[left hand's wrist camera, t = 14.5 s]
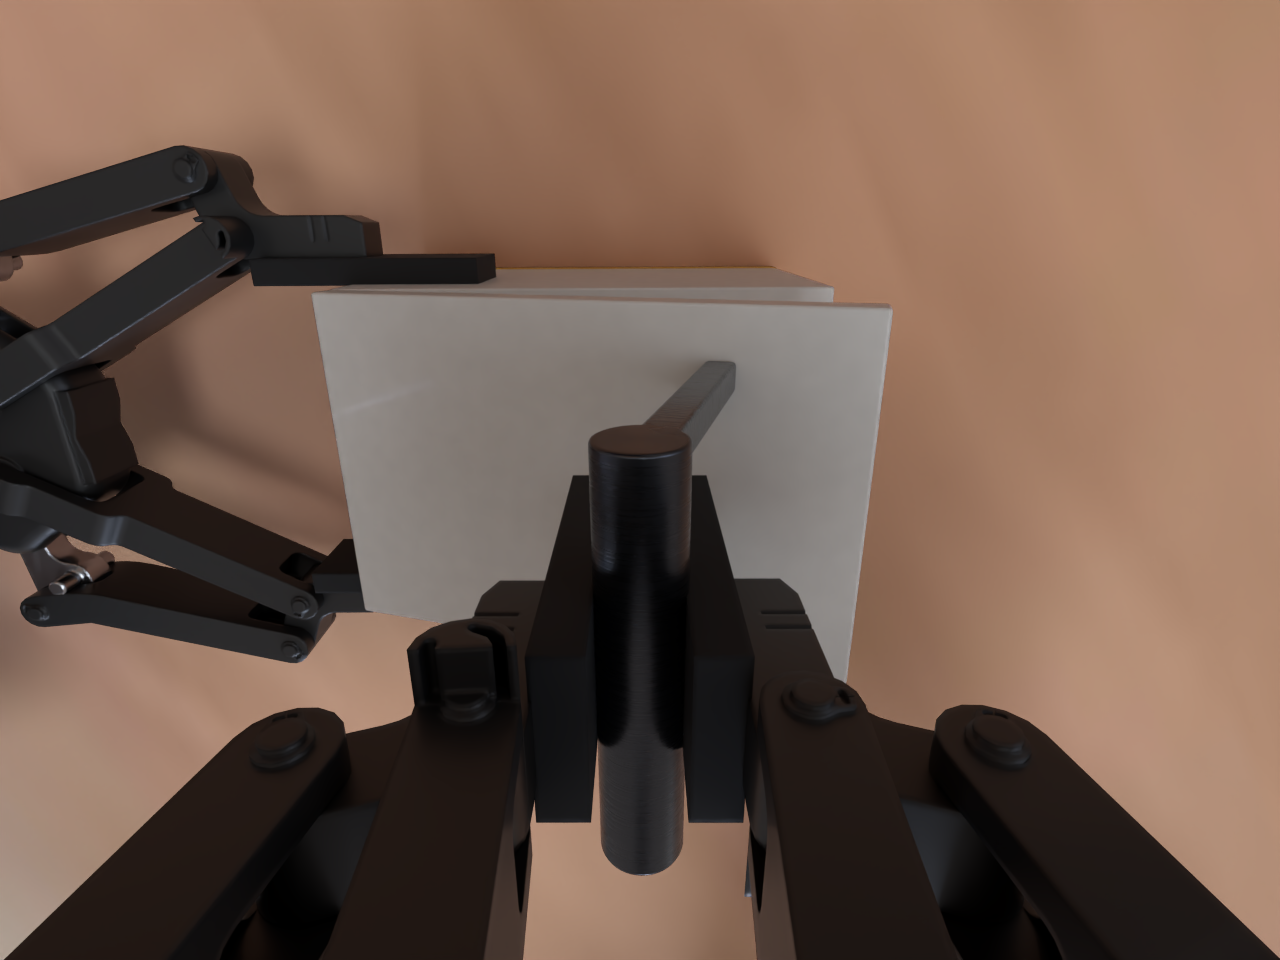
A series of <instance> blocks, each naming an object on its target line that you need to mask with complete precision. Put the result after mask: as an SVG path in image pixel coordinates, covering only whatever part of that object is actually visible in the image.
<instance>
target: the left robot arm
mask: <svg viewBox="0 0 1280 960" xmlns="http://www.w3.org/2000/svg"><path fill="white" fill-rule="evenodd" d="M407 655H408V662H409V669H410V676H411V683H412V690H413V697H414V704H415V706H414V709H413V712H412V715H410V716H408V717H406V718H404V719H402V720H399V721H396V722H393V723H389V724H386V725H383V726H378V727H374V728H369V729H365V730H360V731H356V732H352V733H347V734H346V733H345V727H344V722H343V721H342V720H341V719H340V718H339V717H338V716H337V715H336V714H335V713H334V712H331V711H327V710H324V709H321V708H296V709H292V710H288V711H283V712H279V713H275V714H273V715H271V716H269V717H266V718H264V719H262V720H260V721H258V722H256V723H253V724H252V725H250V726H249V727H248V728H246V729H245V730H244V731H242V732H241V733H240V734H238V735H237V736H236V737H234V738H233V739H232V740H231V741H230V742H229V743H228V744H227V745H226V746H225V747H224V748H223V749H222V750H221V751H220V752H219V753H218V754H216V755H215V756H214V757H213V758H212V759H211V760H210V761H209V762H208V763H207V764H206V765H205V766H204V767H203V768H202V769H201V770H200V771H199V772H198V773H197V774H196V775H195V776H194V777H193V778H192V779H191V780H190V781H189V782H188V783H186V784H185V785H184V786H183V787H182V788H181V789H180V790H179V791H178V792H177V793H176V794H175V795H174V796H173V797H172V798H171V799H170V800H169V801H168V802H167V803H166V804H165V805H164V806H163V807H162V808H161V809H160V810H159V811H157V812H156V813H155V814H154V815H153V816H152V817H151V818H150V819H149V820H148V821H147V822H146V823H145V824H144V825H143V826H142V827H141V828H140V829H139V830H138V831H137V832H136V833H135V834H134V835H133V836H132V837H131V838H130V839H129V840H127V841H126V842H125V843H124V844H123V845H122V846H121V847H120V848H119V849H118V850H117V851H116V852H115V853H114V854H113V855H112V856H111V857H110V858H109V859H108V860H107V861H106V862H105V863H104V864H103V865H102V866H101V867H100V868H98V869H97V870H96V871H95V872H94V873H93V874H92V875H91V876H90V877H89V878H88V879H87V880H86V881H85V882H84V883H83V884H82V885H81V886H80V887H79V888H78V889H77V890H76V891H75V892H74V893H73V894H72V895H71V896H70V897H68V898H67V899H66V900H65V901H64V902H63V903H62V904H61V905H60V906H59V907H58V908H57V909H56V910H55V911H54V912H53V913H52V914H51V915H50V916H49V917H48V918H47V919H46V920H45V921H44V922H43V923H42V924H41V925H39V926H38V927H37V928H36V929H35V930H34V931H33V932H32V933H31V934H30V935H29V936H28V937H27V938H26V939H25V940H24V941H23V942H22V943H21V944H20V945H19V946H18V947H17V948H16V949H15V950H14V951H13V952H12V953H11V954H9V955H8V956H7V957H6V958H5V959H4V960H523V953H524V942H525V931H526V920H527V909H528V898H529V887H530V875H531V864H532V843H531V830H530V822H531V817H532V811H533V806H534V800H535V811H536V823H573V822H591V815H592V802H593V790H594V778H595V765H596V753H597V741H598V730H597V697H596V664H595V631H594V598H593V583H592V553H591V523H590V493H589V475H573V477H572V481H571V484H570V488H569V492H568V496H567V499H566V503H565V507H564V511H563V514H562V518H561V522H560V526H559V529H558V533H557V537H556V541H555V544H554V548H553V552H552V555H551V559H550V563H549V567H548V570H547V574H546V578H545V580H500V581H499V582H497V583H496V584H495V585H494V586H493V587H491V588H490V589H489V590H488V591H487V592H485V593H484V594H483V595H482V596H481V598H480V601H479V603H478V605H477V608H476V610H475V612H474V616H473V617H472V618H470V619H463V620H456V621H450V622H447V623H444V624H441V625H438V626H435V627H433V628H431V629H429V630H427V631H426V632H424V633H423V634H421V635H420V636H418V637H417V638H416V639H415V640H414V641H413V642H412V644H411V645H410V646H409V648H408V649H407ZM683 759H684V772H685V784H686V796H687V809H688V821H689V823H743V819H744V805H745V800H746V805H747V811H748V816H749V822H750V830H749V843H748V857H747V870H746V883H745V897H752V908H753V919H754V930H755V941H756V952H757V960H1280V958H1279V957H1278V956H1277V955H1276V954H1274V953H1273V952H1272V951H1271V950H1270V949H1269V948H1268V947H1267V946H1266V945H1265V944H1264V943H1263V942H1262V941H1261V940H1260V939H1259V938H1258V937H1257V936H1256V935H1255V934H1254V933H1253V932H1252V931H1250V930H1249V929H1248V928H1247V927H1246V926H1245V925H1244V924H1243V923H1242V922H1241V921H1240V920H1239V919H1238V918H1237V917H1236V916H1235V915H1234V914H1233V913H1232V912H1231V911H1230V910H1229V909H1228V908H1227V907H1225V906H1224V905H1223V904H1222V903H1221V902H1220V901H1219V900H1218V899H1217V898H1216V897H1215V896H1214V895H1213V894H1212V893H1211V892H1210V891H1209V890H1208V889H1207V888H1206V887H1205V886H1204V885H1203V884H1201V883H1200V882H1199V881H1198V880H1197V879H1196V878H1195V877H1194V876H1193V875H1192V874H1191V873H1190V872H1189V871H1188V870H1187V869H1186V868H1185V867H1184V866H1183V865H1182V864H1181V863H1180V862H1179V861H1178V860H1176V859H1175V858H1174V857H1173V856H1172V855H1171V854H1170V853H1169V852H1168V851H1167V850H1166V849H1165V848H1164V847H1163V846H1162V845H1161V844H1160V843H1159V842H1158V841H1157V840H1156V839H1155V838H1154V837H1152V836H1151V835H1150V834H1149V833H1148V832H1147V831H1146V830H1145V829H1144V828H1143V827H1142V826H1141V825H1140V824H1139V823H1138V822H1137V821H1136V820H1135V819H1134V818H1133V817H1132V816H1131V815H1130V814H1129V813H1127V812H1126V811H1125V810H1124V809H1123V808H1122V807H1121V806H1120V805H1119V804H1118V803H1117V802H1116V801H1115V800H1114V799H1113V798H1112V797H1111V796H1110V795H1109V794H1108V793H1107V792H1106V791H1105V790H1103V789H1102V788H1101V787H1100V786H1099V785H1098V784H1097V783H1096V782H1095V781H1094V780H1093V779H1092V778H1091V777H1090V776H1089V775H1088V774H1087V773H1086V772H1085V771H1084V770H1083V769H1082V768H1081V767H1080V766H1078V765H1077V764H1076V763H1075V762H1074V761H1073V760H1072V759H1071V758H1070V757H1069V756H1068V755H1067V754H1066V753H1065V752H1064V751H1063V750H1062V749H1061V748H1060V747H1059V746H1058V745H1057V744H1056V743H1054V742H1053V741H1052V740H1051V739H1050V738H1049V737H1048V736H1047V735H1046V734H1045V733H1043V732H1042V731H1041V730H1039V729H1038V728H1037V727H1035V726H1034V725H1033V724H1031V723H1030V722H1028V721H1027V720H1024V719H1022V718H1020V717H1018V716H1016V715H1014V714H1011V713H1009V712H1007V711H1004V710H1000V709H996V708H992V707H988V706H984V705H959V706H956V707H953V708H950V709H946V710H945V711H944V712H943V713H942V714H941V715H940V716H939V717H938V718H937V719H936V724H935V730H934V731H932V730H927V729H923V728H918V727H914V726H909V725H905V724H900V723H896V722H893V721H889V720H886V719H883V718H880V717H877V716H875V715H873V714H871V713H869V712H868V711H867V708H866V705H865V704H864V702H863V701H862V699H861V698H860V696H859V694H858V693H857V692H856V691H855V690H854V689H852V688H851V687H850V686H848V685H847V684H846V683H844V682H843V681H841V680H839V679H836V678H834V676H833V674H832V671H831V669H830V667H829V664H828V662H827V660H826V657H825V655H824V653H823V650H822V648H821V646H820V643H819V641H818V639H817V636H816V634H815V632H814V629H812V625H811V622H810V620H809V618H808V615H807V614H806V613H805V609H804V606H803V604H802V602H801V599H800V597H799V595H798V593H797V592H796V591H794V590H793V589H792V588H791V587H790V586H788V585H787V584H786V583H785V582H784V581H782V580H781V579H780V578H734V576H733V573H732V569H731V565H730V561H729V558H728V554H727V550H726V546H725V543H724V539H723V535H722V531H721V528H720V524H719V520H718V516H717V513H716V509H715V505H714V501H713V498H712V494H711V490H710V486H709V483H708V479H707V475H692V495H691V535H690V576H689V593H688V595H687V600H686V637H685V674H684V711H683Z"/></svg>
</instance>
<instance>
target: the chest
mask: <svg viewBox="0 0 1280 960" xmlns="http://www.w3.org/2000/svg"><path fill="white" fill-rule="evenodd" d="M331 290H363V291H402V292H442V293H482V294H522V295H561V296H601V297H641V298H681V299H721V300H760V301H800V302H833V297H834V287H832V286H829V285H826V284H823V283H820V282H817V281H813V280H810V279H807V278H804V277H801V276H798V275H795V274H792V273H788V272H785V271H782V270H779V269H776V268H775V267H772V266H760V267H556V268H496V277H495V278H493V279H490V280H487V281H485V282H482V283H480V284H377V285H348V286H344V287H339V288H334V289H331Z"/></svg>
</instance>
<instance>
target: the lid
mask: <svg viewBox="0 0 1280 960" xmlns="http://www.w3.org/2000/svg"><path fill="white" fill-rule="evenodd" d="M311 296H312V302H313V308H314V314H315V319H316V325H317V331H318V337H319V343H320V349H321V354H322V360H323V366H324V372H325V378H326V384H327V389H328V395H329V401H330V407H331V413H332V418H333V424H334V430H335V436H336V442H337V448H338V453H339V459H340V465H341V471H342V477H343V483H344V488H345V494H346V500H347V506H348V512H349V518H350V523H351V529H352V535H353V541H354V547H355V553H356V558H357V564H358V570H359V576H360V582H361V588H362V593H363V599H364V605H365V609H366V610H367V611H373V612H379V613H385V614H391V615H397V616H402V617H408V618H414V619H420V620H426V621H432V622H438V623H447V622H450V621H456V620H463V619H470V618H472V617H473V616H474V612H475V610H476V608H477V605H478V603H479V601H480V598H481V596H482V595H483V594H484V593H485V592H487V591H488V590H489V589H490V588H491V587H493V586H494V585H495V584H496V583H497V582H499V581H500V580H545V578H546V574H547V570H548V567H549V563H550V559H551V555H552V552H553V548H554V544H555V541H556V537H557V533H558V529H559V526H560V522H561V518H562V514H563V511H564V507H565V503H566V499H567V496H568V492H569V488H570V484H571V481H572V477H573V475H589V493H590V523H591V553H592V583H593V598H594V631H595V664H596V697H597V730H598V764H599V794H600V824H601V845H602V849H603V851H604V854H605V855H606V857H607V858H608V860H609V861H610V862H611V863H612V864H613V865H614V866H615V867H616V868H618V869H619V870H621V871H623V872H626V873H629V874H633V875H641V876H642V875H652V874H655V873H658V872H661V871H663V870H665V869H666V868H668V867H669V866H670V865H671V864H672V863H673V862H674V861H675V860H676V859H677V857H678V856H679V854H680V852H681V849H682V845H683V820H684V779H685V772H684V759H683V711H684V674H685V637H686V600H687V595H688V593H689V576H690V535H691V495H692V475H707V479H708V483H709V486H710V490H711V494H712V498H713V501H714V505H715V509H716V513H717V516H718V520H719V524H720V528H721V531H722V535H723V539H724V543H725V546H726V550H727V554H728V558H729V561H730V565H731V569H732V573H733V576H734V578H780V579H781V580H782V581H784V582H785V583H786V584H787V585H788V586H790V587H791V588H792V589H793V590H794V591H796V592H797V593H798V595H799V597H800V599H801V602H802V604H803V606H804V609H805V613H806V614H807V615H808V618H809V620H810V622H811V625H812V629H814V632H815V634H816V636H817V639H818V641H819V643H820V646H821V648H822V650H823V653H824V655H825V657H826V660H827V662H828V664H829V667H830V669H831V671H832V674H833V676H834V678H836V679H839V680H841V681H843V682H844V683H846V681H847V673H848V665H849V657H850V649H851V642H852V634H853V626H854V618H855V610H856V602H857V594H858V586H859V578H860V570H861V562H862V554H863V546H864V538H865V530H866V522H867V514H868V506H869V498H870V491H871V483H872V475H873V467H874V459H875V451H876V443H877V435H878V427H879V419H880V411H881V403H882V395H883V387H884V379H885V371H886V363H887V355H888V347H889V340H890V332H891V324H892V316H893V310H892V307H891V305H889V304H880V303H840V302H800V301H760V300H721V299H681V298H641V297H601V296H561V295H522V294H482V293H442V292H402V291H363V290H327V291H319V292H314V293H312V295H311Z"/></svg>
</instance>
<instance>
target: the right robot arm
mask: <svg viewBox="0 0 1280 960" xmlns="http://www.w3.org/2000/svg"><path fill="white" fill-rule="evenodd" d="M253 180H254V177H253V173H252V169H251V168H250V166H249V164H248V163H247V162H246V161H245V160H244V159H243V158H241V157H240V156H237V155H234V154H230V153H225V152H219V151H213V150H207V149H201V148H196V147H190V146H184V145H182V146H173V147H170V148H167V149H164V150H160V151H157V152H154V153H151V154H148V155H144V156H141V157H138V158H135V159H132V160H128V161H125V162H122V163H119V164H116V165H112V166H109V167H106V168H103V169H100V170H96V171H93V172H90V173H87V174H84V175H80V176H77V177H74V178H71V179H68V180H64V181H61V182H58V183H55V184H52V185H48V186H45V187H42V188H39V189H35V190H32V191H29V192H26V193H23V194H19V195H16V196H13V197H10V198H7V199H3V200H0V282H2V281H6V280H8V279H9V278H10V277H11V276H12V275H13V271H14V270H19V269H21V267H22V266H23V261H22V259H21V257H20V256H22V255H37V254H48V253H52V252H57V251H61V250H64V249H68V248H71V247H74V246H77V245H81V244H84V243H87V242H91V241H94V240H97V239H101V238H104V237H107V236H111V235H114V234H117V233H120V232H124V231H127V230H130V229H134V228H137V227H140V226H144V225H147V224H150V223H154V222H157V221H160V220H163V219H167V218H170V217H173V216H177V215H180V214H183V213H187V212H190V211H193V210H196V211H197V213H198V214H199V216H198V217H195V218H193V219H194V220H195V222H203V223H201V224H200V225H198V226H197V227H195V228H194V229H192V230H191V231H189V232H188V233H186V234H185V235H183V236H182V237H180V238H179V239H177V240H176V241H174V242H173V243H171V244H170V245H168V246H167V247H165V248H164V249H162V250H161V251H159V252H158V253H156V254H155V255H153V256H152V257H150V258H149V259H147V260H146V261H144V262H143V263H141V264H140V265H138V266H137V267H135V268H134V269H132V270H131V271H129V272H128V273H126V274H125V275H123V276H122V277H120V278H119V279H117V280H116V281H114V282H112V283H111V284H109V285H108V286H106V287H105V288H103V289H102V290H100V291H99V292H97V293H96V294H94V295H93V296H91V297H90V298H88V299H87V300H85V301H84V302H82V303H81V304H79V305H78V306H76V307H75V308H73V309H72V310H70V311H69V312H67V313H66V314H64V315H63V316H61V317H60V318H58V319H57V320H55V321H54V322H52V323H50V324H48V325H46V326H43V327H41V328H36V327H34V326H33V325H31V324H29V323H28V322H26V321H24V320H23V319H21V318H19V317H18V316H16V315H14V314H12V313H11V312H9V311H7V310H6V309H4V308H2V307H1V306H0V549H2V550H4V551H8V552H12V553H20V554H21V556H22V558H23V560H24V563H25V565H26V567H27V569H28V571H29V573H30V575H31V577H32V579H33V581H34V584H35V586H36V588H37V590H38V591H37V592H36V593H34V594H32V595H31V596H29V597H28V598H26V599H25V600H24V601H23V602H22V603H21V606H20V610H21V614H22V615H23V617H24V618H25V619H26V620H27V621H28V622H30V623H31V624H33V625H36V626H40V627H50V626H61V625H72V624H83V623H95V624H100V625H105V626H110V627H115V628H120V629H125V630H130V631H135V632H140V633H145V634H150V635H155V636H160V637H164V638H169V639H174V640H179V641H184V642H189V643H194V644H199V645H204V646H209V647H214V648H219V649H224V650H229V651H234V652H239V653H244V654H249V655H254V656H259V657H264V658H269V659H274V660H279V661H284V662H289V663H298V662H301V661H303V660H304V659H305V658H306V657H307V656H308V655H309V653H310V652H311V651H312V649H313V648H314V647H315V646H316V644H317V643H318V642H319V640H320V639H321V638H322V636H323V635H324V634H325V632H326V631H327V630H328V628H329V627H330V626H331V624H332V623H333V622H334V620H335V617H336V613H337V612H373V611H367V610H366V609H365V605H364V599H363V593H362V588H361V582H360V576H359V570H358V564H357V558H356V553H355V547H354V541H353V539H343V540H342V541H341V543H340V544H339V545H338V546H337V547H336V548H335V549H334V550H333V551H332V552H331V553H330V554H329V555H328V556H326V555H324V554H322V553H319V552H317V551H315V550H312V549H310V548H308V547H305V546H303V545H301V544H299V543H296V542H294V541H292V540H289V539H287V538H285V537H282V536H280V535H278V534H276V533H273V532H271V531H269V530H266V529H264V528H262V527H259V526H257V525H255V524H253V523H250V522H248V521H246V520H243V519H241V518H239V517H236V516H234V515H232V514H230V513H227V512H225V511H223V510H220V509H218V508H216V507H213V506H211V505H209V504H207V503H204V502H202V501H200V500H197V499H195V498H193V497H190V496H188V495H186V494H184V493H181V492H179V491H177V490H175V489H174V488H173V487H172V482H171V480H170V479H168V478H166V477H165V476H162V475H160V474H158V473H156V472H153V471H151V470H149V469H146V468H144V467H142V466H140V465H137V464H138V461H137V457H136V454H135V450H134V447H133V443H132V442H131V440H130V438H129V436H128V435H127V433H126V431H125V429H124V427H123V426H122V424H121V421H120V397H119V394H118V390H117V387H116V383H115V380H114V378H105V377H104V375H103V374H102V372H101V371H102V370H104V369H105V368H107V367H109V366H110V365H112V364H113V363H115V362H116V361H118V360H120V359H121V358H123V357H124V356H126V355H127V354H129V353H131V352H132V351H133V350H135V349H136V347H135V346H136V345H137V344H139V343H140V342H142V341H143V340H145V339H146V338H148V337H149V336H151V335H153V334H154V333H156V332H157V331H159V330H160V329H162V328H164V327H165V326H167V325H168V324H170V323H171V322H173V321H175V320H176V319H178V318H179V317H181V316H182V315H184V314H186V313H187V312H189V311H190V310H192V309H193V308H195V307H197V306H198V305H200V304H201V303H203V302H204V301H206V300H207V299H209V298H211V297H212V296H214V295H215V294H217V293H218V292H220V291H222V290H223V289H225V288H226V287H228V286H229V285H231V284H233V283H234V282H236V281H237V280H239V279H240V278H242V277H244V276H245V275H247V274H248V273H250V272H251V274H252V279H253V284H254V286H348V285H377V284H480V283H482V282H485V281H487V280H490V279H493V278H495V277H496V266H495V254H383V249H382V242H381V234H380V227H379V222H376V221H374V220H371V219H369V218H366V217H364V216H356V215H278V214H275V213H273V212H272V211H270V210H269V209H267V208H266V207H265V206H264V205H263V204H262V202H261V201H260V199H259V198H258V196H257V194H256V192H255V190H254V188H253ZM115 495H116V496H115ZM67 535H69V536H71V537H73V538H76V539H78V540H81V541H83V542H86V543H88V544H91V545H95V546H107V545H119V546H123V547H125V548H127V549H130V550H132V551H135V552H137V553H139V554H142V555H144V556H147V557H149V558H151V559H154V560H156V561H159V562H161V563H164V564H166V565H168V566H171V567H173V568H176V569H173V568H168V567H163V566H159V565H154V564H148V563H142V562H131V561H119V562H115V557H114V556H113V554H111V553H110V552H108V551H102V552H100V553H98V554H95V553H91V552H84V551H81V550H78V549H77V548H75V547H74V546H73V545H72V544H71V543H70V542H69V541H68V539H67V537H66V536H67Z"/></svg>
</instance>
